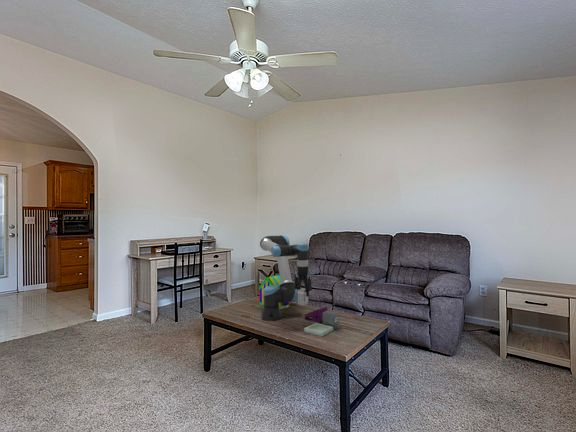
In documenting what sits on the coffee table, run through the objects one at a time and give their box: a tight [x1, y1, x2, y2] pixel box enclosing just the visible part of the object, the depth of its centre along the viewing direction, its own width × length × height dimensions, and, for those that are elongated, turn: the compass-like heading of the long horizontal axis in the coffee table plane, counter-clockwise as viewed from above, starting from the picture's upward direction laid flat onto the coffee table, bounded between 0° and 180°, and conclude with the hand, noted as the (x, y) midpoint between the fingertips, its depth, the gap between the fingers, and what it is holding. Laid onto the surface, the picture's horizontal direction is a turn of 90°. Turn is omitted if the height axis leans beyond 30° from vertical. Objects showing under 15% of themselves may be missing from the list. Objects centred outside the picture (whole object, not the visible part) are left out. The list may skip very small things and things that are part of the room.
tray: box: [303, 322, 334, 338], centre depth 215 cm, size 14×14×2 cm
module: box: [297, 287, 309, 306], centre depth 222 cm, size 5×5×10 cm
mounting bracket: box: [304, 306, 329, 324], centre depth 240 cm, size 10×8×18 cm
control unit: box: [322, 310, 339, 331], centre depth 222 cm, size 10×6×10 cm, turn 50°
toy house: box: [258, 274, 291, 310], centre depth 278 cm, size 24×14×25 cm, turn 42°
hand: (303, 300), depth 222 cm, fingers closed on module, 5 cm apart
